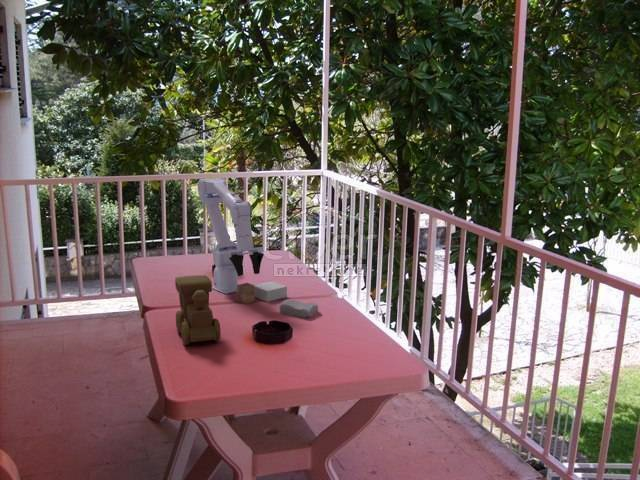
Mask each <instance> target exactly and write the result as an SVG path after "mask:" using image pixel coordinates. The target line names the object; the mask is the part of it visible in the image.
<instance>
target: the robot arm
mask: <svg viewBox="0 0 640 480" xmlns="http://www.w3.org/2000/svg"><path fill="white" fill-rule="evenodd" d="M197 193H198V196H199V198H200V199H199V200H200V202H201V203H202V204H204V205H205V209H206V212H207V214H208V218H209V221H210V224H211V228H212V230H213V234H214V237H215V242H216V243H217V244H216V245H215V246H214V247H213V249H212V256H213V259H212V260H213V263H214V265H215V268H214V270H213V286H212V290H216V291H217V292H220V293H222V294H225V295H226V294H232V293H237V285H239V276H244V266H243V265H244V264H243V263H244V256H245V255H248V254H249V255H248V256H249V258H250V261H251V264H252V265H251V266H252V270H253V275H258V274H260V271H261V264H262V260H263V259H264V258H263V257H264V255H265V253H264V246H258V247H254V241H253V232H252V223H251V218H252V214H253V208H252V204H251V203H250V201H243V200H242V199H241V198H240V197H239V195H237V194H236V192H235V191H232V192H231V191H230V189H228V186H227V181H226V179H225V177H216V178H199V180H198V182H197ZM221 203H223V206H225V207H226V208H227V209H228V210H229V215H230V218H231V220H232V224H233V226H234V232H235V240H236V242H235V241H233V240H231V239H230V235H229V231H228V229H227V226H226V225H227V224H226V222H225V219H224V216H223V213H222V210H221V207H220V204H221Z"/></svg>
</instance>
